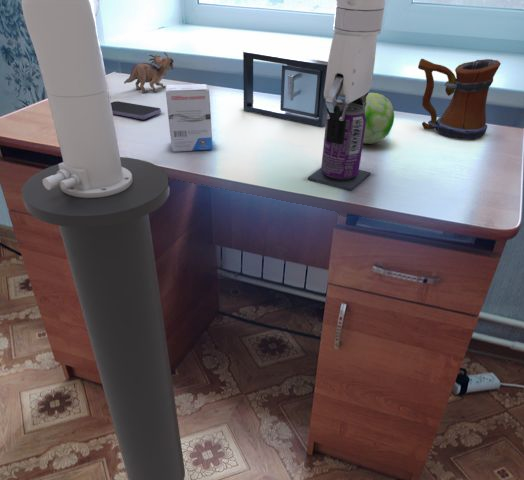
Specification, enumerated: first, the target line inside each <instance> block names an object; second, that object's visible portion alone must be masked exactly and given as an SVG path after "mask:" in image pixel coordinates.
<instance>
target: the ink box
mask: <svg viewBox="0 0 524 480" xmlns="http://www.w3.org/2000/svg"><path fill="white" fill-rule="evenodd" d="M165 86H166V88H165V97H166V99H165V100H166V107H167V117H168V127H169V137H170V146H171V152H173V153H175V152H176V153H177V152H192V151H211V150H213V133H212V114H211V113H212V111H211V97H210V88H209V86H208V84H206V83H196V84H194V83H193V84H166V85H165Z"/></svg>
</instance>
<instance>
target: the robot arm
mask: <svg viewBox="0 0 524 480" xmlns="http://www.w3.org/2000/svg"><path fill="white" fill-rule="evenodd" d="M20 2H21V9H22V15H23V19H24V22H25V25H26V28H27V31H28V35H29V37H30V40H31V44H32V46H33V49H34V53H35V55H36V60H37V62H38V67H39V70H40V73H41V74H40V75H41V78H42V82H43V86H44V90H45V94H46V97H47V101H48V106H49V109H50V114H51V118H52V121H53V127H54V130H55V134H56V138H57V142H58V146H59V151H60V155H61V158H62V162H60V163H57V164H58V165H59V169H60V170H59V171H57V173H56V174H55V175H51V176H49V177H47V178H44V179H43V181H42V182H43V185H44V187H45V188H46V189H47V190H51V189H53V188H56V187H58V186H59V185H60V188H61V190H62V191H63V192H64V193H66V194H68V195H71V196H74V197H80V198H99V197H106V196H111V195H114V194H117V193H120V192H122V191H124V190H126V189H127V188H128V187H129V186H130V185H131V184H132V182H133V179H132V174H131V172H130V171H129V170H127V169H126V168H124V167H122V166H121V160H120V157H121V155H120V148H119V144H118V137H117V132H116V131H117V130H116V125H115V119H114V114H113V113H112V107H111V97H110V90H109V85H108V80H107V79H108V78H107V74H106V72H107V71H106V68H105V61H104V57H103V53H102V47H101V43H100V37H99V32H98V27H97V19H96V18H97V15H98V12H99V8H100V0H21V1H20ZM385 5H386V0H336V1H335V10H334V11H335V12H334V21H333V32H334V33H333V35H332V40H331V45H330V49H329V54H328V59H327V62H328V66H327V73H326V80H325V89H324V98H325V99H326V105H327V112H328V115H327V118H328V125H327V135H326V141H327V142H331V143H335V144H340V145H341V144H343V143H344V136H345V127H346V120H344V118H345V115H346V111H347V108H348V105H349V103H355V104H359V105H362V106H363V107H365V106H366V97H367V95H368V93H370V90H371V87H372V84H373V78H374V71H375V63H376V62H375V61H376V53H377V41H378V35H380V34H381V33H382V26H383V20H384V12H385ZM338 97H340V98H338ZM341 98H344V99H341ZM337 104H340V105H343V106H342V109H341V111H340V108H339V106H337Z"/></svg>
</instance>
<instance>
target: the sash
mask: <svg viewBox="0 0 524 480" xmlns="http://www.w3.org/2000/svg"><path fill="white" fill-rule="evenodd" d="M321 79H322V71H318V70H312V69H306V68H300V67H294V66H288V65H286V64H281V85H280V105H279V107H280V108H279V109H280V111H285V112H290V113H295V114H299V115H304V116H309V117H314V118H318V113H319V102H320V90H321Z"/></svg>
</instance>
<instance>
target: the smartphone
mask: <svg viewBox="0 0 524 480" xmlns="http://www.w3.org/2000/svg"><path fill="white" fill-rule="evenodd" d="M111 107H112V113H113V115H116V116H117V115H118V116H123V117H129V118H134V119H136V120H138V119H139V120H142V121H143V120H147V119H148V118H151V117H153V116H155V115H158V114H161V113H162V109H161V108H160V107H155V106H149V105H144V104H138V103H131V102H125V101H117V100H116V101H112V102H111Z"/></svg>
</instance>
